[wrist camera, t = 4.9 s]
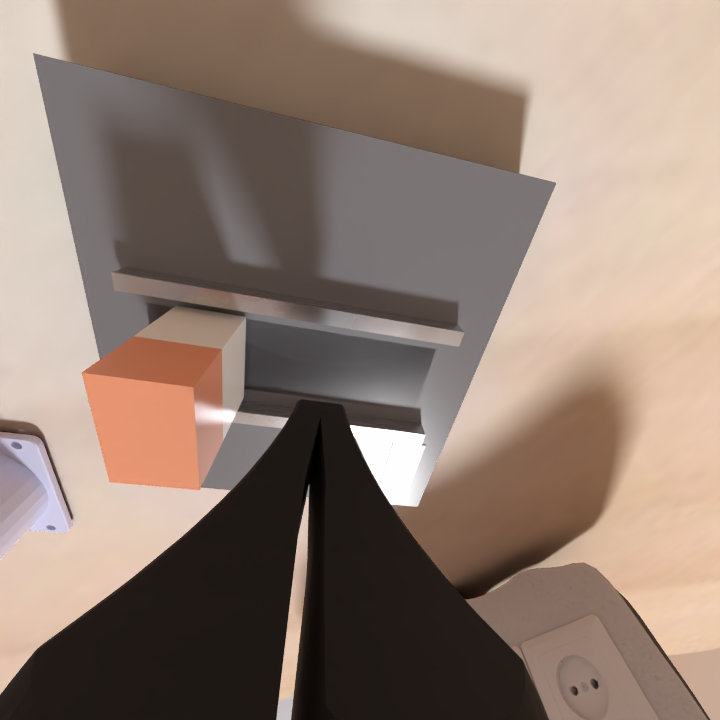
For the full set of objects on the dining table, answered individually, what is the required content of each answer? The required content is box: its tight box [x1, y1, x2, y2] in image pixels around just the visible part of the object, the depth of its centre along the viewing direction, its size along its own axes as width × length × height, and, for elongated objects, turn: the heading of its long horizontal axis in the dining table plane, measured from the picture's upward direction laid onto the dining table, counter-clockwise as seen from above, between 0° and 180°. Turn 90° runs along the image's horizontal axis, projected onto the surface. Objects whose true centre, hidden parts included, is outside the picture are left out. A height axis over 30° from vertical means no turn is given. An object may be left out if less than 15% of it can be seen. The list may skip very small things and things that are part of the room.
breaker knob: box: [82, 306, 246, 490], centre depth 10 cm, size 2×4×5 cm, turn 169°
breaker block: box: [33, 53, 556, 507], centre depth 14 cm, size 15×16×3 cm
